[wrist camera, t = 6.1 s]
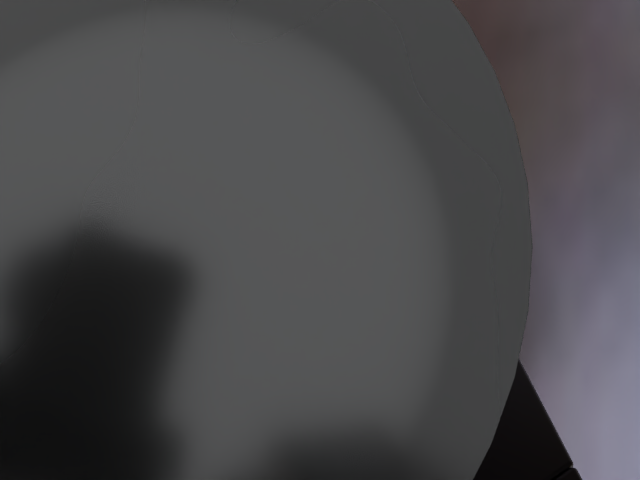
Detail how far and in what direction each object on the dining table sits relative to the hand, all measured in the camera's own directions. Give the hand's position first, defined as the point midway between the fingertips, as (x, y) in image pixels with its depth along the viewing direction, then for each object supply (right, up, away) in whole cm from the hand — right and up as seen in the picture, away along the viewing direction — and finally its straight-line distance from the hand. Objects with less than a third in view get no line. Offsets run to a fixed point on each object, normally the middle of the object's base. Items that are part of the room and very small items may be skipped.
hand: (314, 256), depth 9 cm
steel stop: (0, -3, +7) cm, 7 cm away
